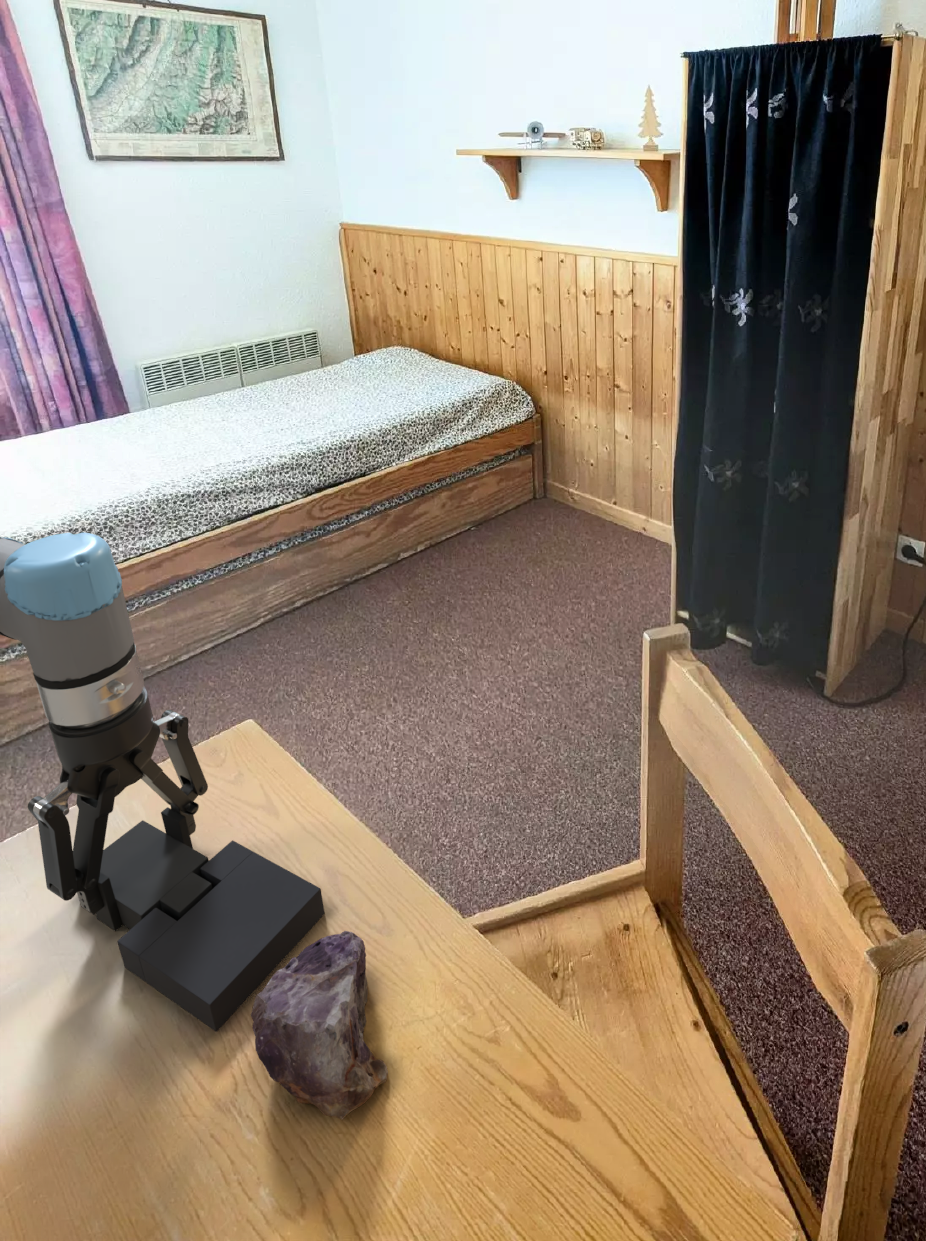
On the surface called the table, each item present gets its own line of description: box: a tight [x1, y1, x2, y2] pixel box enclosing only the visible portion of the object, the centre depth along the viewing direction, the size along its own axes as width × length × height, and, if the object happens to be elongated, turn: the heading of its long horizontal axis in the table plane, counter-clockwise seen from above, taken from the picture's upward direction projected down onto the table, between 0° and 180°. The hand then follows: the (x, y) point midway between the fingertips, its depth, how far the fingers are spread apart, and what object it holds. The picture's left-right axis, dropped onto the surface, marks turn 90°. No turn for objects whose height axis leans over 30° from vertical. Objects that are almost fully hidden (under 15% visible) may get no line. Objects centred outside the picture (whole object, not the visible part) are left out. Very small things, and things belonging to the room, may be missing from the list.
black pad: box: [100, 820, 213, 930], centre depth 77 cm, size 13×7×4 cm, turn 63°
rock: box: [250, 930, 389, 1120], centre depth 63 cm, size 12×9×10 cm
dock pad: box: [116, 839, 326, 1033], centre depth 73 cm, size 12×12×4 cm
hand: (149, 893), depth 78 cm, fingers closed on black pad, 7 cm apart
